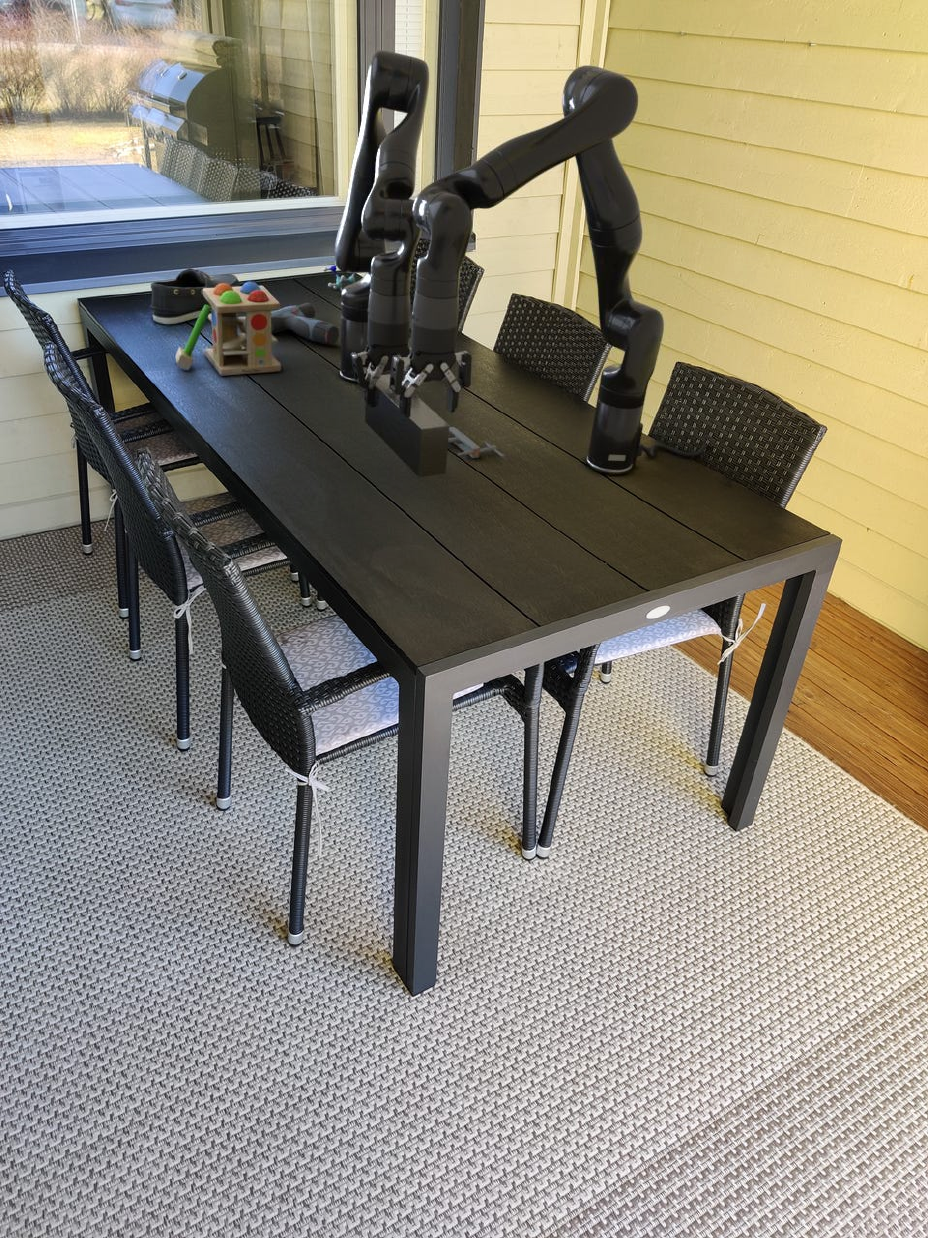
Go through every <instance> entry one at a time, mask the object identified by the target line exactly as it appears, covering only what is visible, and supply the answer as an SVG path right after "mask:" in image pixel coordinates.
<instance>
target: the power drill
mask: <svg viewBox="0 0 928 1238" xmlns="http://www.w3.org/2000/svg"><path fill="white" fill-rule="evenodd" d="M315 315H316V308H315V306H314V305H313V304H312V303H311V302H305V303H300V304H295V305H294V304H293V305H289V306H285V307H283V308H280V310H271V334H272V335H273V334H275V333H276V334H277V333H279V332H282V331H286V330H290V331H292V332H293V333H295V334H296V335H298V336H300V337H302V338H305V339H307V340H309V341H313V342H316V343H319V344H323V345H327V346H333V345H335V344H336V343H337V342H338V340H339V337H340V330H339V328H338V326H336V325H334V324H333V323H332V324H331V323H329V322H328V321H323V320H321V319H317V318H314V317H315Z"/></svg>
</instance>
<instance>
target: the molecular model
mask: <svg viewBox="0 0 928 1238" xmlns="http://www.w3.org/2000/svg"><path fill="white" fill-rule="evenodd" d="M322 271H323V272H325V273H326V272H328V271H331V272H332V273H334V275H335V277H336V283H331V282H329V283H327V287H329V288H333V289H334V290H337V289H340V291H341V292H342V290H343V289H344V288H343V282H349V283H350V284H353V283H355V282H356V277H355V275H356V273H351V275H350V276H349V277H348V278H346V276H345V275H341V276H339V274H338V271H337V265H336V262H335V261H334V265H332V266H330V267H326V266H325V267H323V268H322Z"/></svg>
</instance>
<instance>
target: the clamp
mask: <svg viewBox="0 0 928 1238" xmlns="http://www.w3.org/2000/svg"><path fill="white" fill-rule="evenodd" d="M452 443H453V444H454V445H456V446H457V447H458V448H459V449H460V450H462V451H463V452H458V453H457V456H458V457H460V456H469V457H470V458H472V459H477V458H480V454H482V453H487V452H488V453H496V454H497V455H498V456H499V457H500V459H502V460H504V459H506V457H507V456H506V454H504V453H501V452H500V451H499V450H498V447H497V446H496V445H495V444H494V445H491V444H490V443H489V442H488V441H486V440H485V441H484V442H483V446H484V447H483V448H481V447H480V446H479V444H476V443H475V442H474V441H473V440H471V439H470V438H469V437H468V436H466V435H465V434H464V433H463V432H461V431H460V430H459V429H457V428H456V427H455V426H449V438H448V444H452Z"/></svg>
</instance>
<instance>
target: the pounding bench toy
mask: <svg viewBox="0 0 928 1238" xmlns="http://www.w3.org/2000/svg"><path fill="white" fill-rule="evenodd" d="M203 296H204V297H205V299H206V300H207V301H208V302H209V304H210V305H211V307H210V306H208V305H204V307H203V309H202V311H201V314H200V316H199V317H198V318H197V320H196V322H195V324H194V327H193V329H192V331H191V332H190V333H191V334H190V336H189V338H188V340H187V343H186V344H185V347H184V348H182V347H180V346H179V347H178V349H177V351H176V354H175V357H174V358H175V362H176V365H177V366H178V368H179V369H182V370H185V371H189V370H190V369H191V367H192V365H193V363H194V356H193V351H194V348H195V347H196V345H197V342H198V340H199V337H200V336H201V333H202V332H203V329H204V326H205V325H206V322H207V320H209V321H210V322H211V336H212V337H211V338H212V339H211V340H212V348H205V349H204V352H205V353H204V355H205V357H206V359H208V361H209V363H210V364H211V365H212V366H213V367H214V369H215V370H216V371H217V372H218V374H219V375H220V376H222V377H223V376H234V375H235V376H236V375H246V374H247V375H250V374H262V373H275V372H281V370H282V364H281V363H280V362H279V360H278V359H277V358H276V357H275V356H274V355H273V348H272V347H273V345H272V344H276V343H278V342H279V341H278V339H277V338H276V337H275V336H274V334H273V333H272V334H271V312H272V311H275V310H280V309H281V304H280V301H278V300H277V299H276V297H274V296H273V295H272V294H271V293H270V292H269V290H268V289H267V288H266V287H264V285H259V284H257V283H256V282H255V281H247V282H245V283H244V284H243V285H242V286H241V287H231V286H230V285H228V284H226V283H221V284H218V285H217V286H216V287H215V288H204V289H203ZM210 310H211V311H210ZM238 313H244V314H245V315H244V316H238ZM238 329H239V331H240V333H239V334H238Z"/></svg>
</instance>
